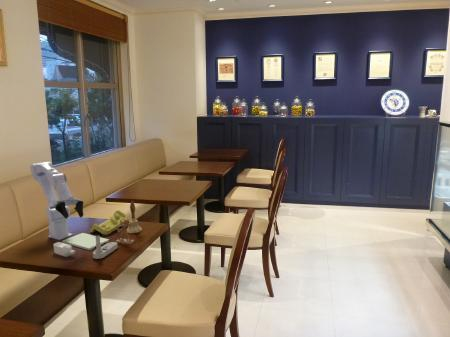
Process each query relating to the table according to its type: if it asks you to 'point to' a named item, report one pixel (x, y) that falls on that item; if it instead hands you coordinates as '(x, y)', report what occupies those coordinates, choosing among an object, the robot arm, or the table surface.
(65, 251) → the grey connector
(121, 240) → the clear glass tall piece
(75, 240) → the sage board
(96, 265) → the table surface
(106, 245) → the electronic device
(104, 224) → the plastic component
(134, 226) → the hand bell
